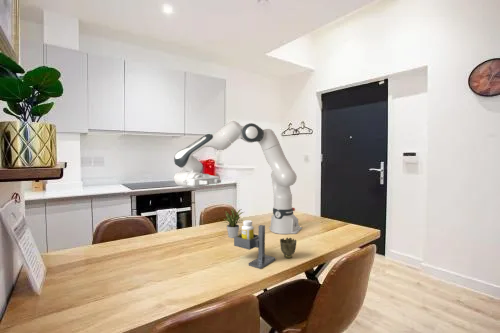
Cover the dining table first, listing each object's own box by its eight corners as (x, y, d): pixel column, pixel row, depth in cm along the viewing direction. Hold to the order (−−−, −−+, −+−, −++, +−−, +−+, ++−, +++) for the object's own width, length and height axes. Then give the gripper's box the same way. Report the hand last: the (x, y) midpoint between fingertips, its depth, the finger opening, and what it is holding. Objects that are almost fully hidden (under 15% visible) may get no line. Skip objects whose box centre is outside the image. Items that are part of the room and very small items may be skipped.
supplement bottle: (253, 240, 123) (253, 219, 123) (253, 244, 118) (254, 222, 117) (241, 240, 123) (241, 219, 123) (241, 244, 118) (241, 222, 117)
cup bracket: (247, 252, 128) (248, 219, 127) (275, 259, 119) (275, 224, 118) (231, 260, 118) (231, 224, 118) (260, 269, 109) (260, 230, 109)
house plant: (249, 233, 159) (249, 205, 159) (246, 240, 146) (246, 210, 145) (225, 232, 161) (225, 205, 160) (220, 239, 147) (220, 210, 146)
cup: (283, 261, 118) (283, 243, 117) (277, 255, 125) (277, 238, 124) (299, 259, 120) (299, 241, 119) (292, 253, 127) (292, 236, 126)
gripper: (181, 175, 142) (199, 177, 134) (209, 173, 159) (226, 174, 150) (181, 187, 142) (199, 189, 134) (209, 184, 159) (226, 186, 151)
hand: (214, 181), depth 142 cm, fingers open, 8 cm apart
